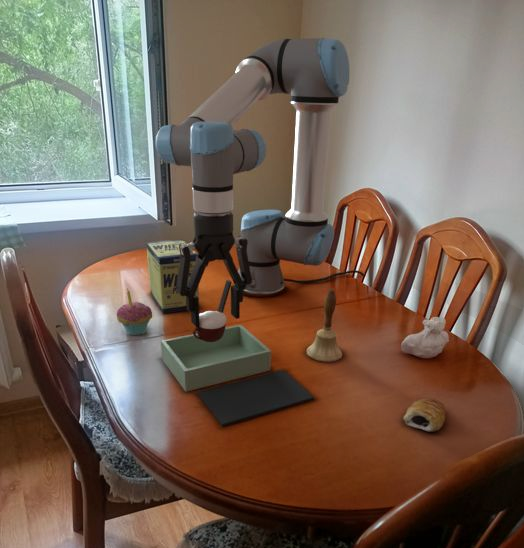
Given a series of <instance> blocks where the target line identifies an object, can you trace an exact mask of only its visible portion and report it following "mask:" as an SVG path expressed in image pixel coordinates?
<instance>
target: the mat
mask: <svg viewBox="0 0 524 548" xmlns="http://www.w3.org/2000/svg"><path fill="white" fill-rule="evenodd" d="M196 394H197V395H198V397H199V398H200V399H201V401H202V402H203V404H204V405H205V407H207V408H208V411H210V413H211V414H212V415H213V417H214V418H215V419H216V420H217V422H218V423H219V424H220V426H221V427H225V426H229V425H232V424H236V423H239V422H242V421H246V420H250V419H252V418H256V417H259V416H264V415H267V414H269V413H274V412H276V411H279V410H283V409H286V408H289V407H293V406H297V405H300V404H304V403H306V402H311V401H313V400H315V397H314V396H313V394H311V393H310V392H309V391H308V390H307V389H306V388H305V387H303V386H302V385H301V384H300V383H299V382H298V381H297V380H296V379H295V378H294V377H292V375H291V374H289V373H288V372H287V371H286V370H284V369H279V370H276V371H272V372H268V373H264V374H261V375H256V376H253V377H249V378H245V379H241V380H237V381H232V382H229V383H226V384H221V385H217V386H213V387H210V388H205V389H202V390H197V393H196Z"/></svg>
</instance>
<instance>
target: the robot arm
mask: <svg viewBox="0 0 524 548" xmlns="http://www.w3.org/2000/svg"><path fill="white" fill-rule="evenodd" d="M349 83H350V61H349V54H348V52H347V49H346V46H345V45H344V43H343V42H342V41H340V40H339V39H335V38H327V37H317V38H316V37H315V38H312V37H311V38H279V39H275V40H273V41H270V42H268V43H265V44H263V45H262V46H260V47H258V48H257V49H255V50H254V51H252V52H251V53H250V54H248V55H247V56H246V57H244V58H243V59H242V60H241V61H240V62H239V63H238V65H237V67H236V70H235V73H234V74H233V75H232V76H231V77H230V78H229V79H228V80H226V81H225V83H223V84H222V85H221V86H220V87H219V88H218V89H217V90H216V91H214V93H212V94H211V95H210V96H209V97H208V98H207V99H206V100H205V101H204V102H203V103H202V104H201V105H199V107H197V108H196V110H194V111H193V112H192V113H191V114H190V115H189V116H188V117H186V119H185V120H184V121H182V122H181V123H180V124H178V125H176V124H173V123H172V124H167V125H163V126H161V127H160V129H158V131H157V133H156V136H155V149H156V151H157V155H158V157H159V158H160V160H161V161H162V162H163V163H166V164H170V165H176V166H177V167H180V166H182V167H191V177H192V183H191V184H192V209H193V210H194V211H195V212H194V213H193V214H192V215H193V233H194V236H193V240H192V242H189V243H186V244H183V243H181V244H180V245H179V250H180V255H181V256H180V263H179V270H178V278H177V285H176V291H177V292H178V293H179V294H180V295H181V296H186V308H187V310H186V311H188V312H189V313H190V322H191V324H192V325H193V326H194V328H196V327H199V314H200V300H199V301H198V296H196V295H195V293H196V290H197V288H198V285H200V282H201V280H202V278H203V275H204V273H205V271H206V268H207V267H209V263H210V262H214V261H222V262H223V264H224V266H225V268H226V270H227V272H228V274H229V276H230V278H231V281H232V283H233V284H234V285H231V286H230V315H231V316H232V317H233V318H235V320H238V319H240V317H241V316H240V315H241V314H240V313H241V310H240V308H241V307H240V306H241V304H240V303H243V302H244V296H246V297H247V296H248V297H253V298H270V297H271V298H272V297H275V296H278V295H281V294H282V293H284V291H285V285H286V284H285V282H290V283H296V284H297V283H298V284H307V283H316V282H321V281H326V280H329V279H331V278H334V277H336V276H342V275H347V274H359V275H361V276H362V277H365V276H366V275H365V273H363V272H362V271H360V270H355V269H354V270H353V269H352V270H346V271H341V272H335V273H333V274H330V275H327V276H325V277H321V278H316V279H315V278H314V279H307V280H305V279H303V280H298V279H293V278H284V275H283V272H282V271H283V270H282V268H281V261H285V262H291V263H295V264H301V265H303V266H314V267H317V266H321V265H322V264H323V263H324V262H325V260H326V259H327V258H328V256H329V254H330V252H331V249H332V246H333V242H334V239H335V228H334V226H333V225H332V224H331V223H329V215H328V214H327V213H326V212H325V211H324V204H325V203H324V201H325V192H326V179H327V168H328V157H329V146H330V145H329V143H330V131H331V120H332V112H333V110H334V109H335V108H336V107H337V106H338V105H339V100H340V97H343V96H344V95H346V93H347V91H348V86H349ZM274 94H285V95H290V104H291V105H292V106H293V108H294V109H295V112H296V113H295V114H296V115H295V133H294V151H293V172H292V189H291V190H292V191H291V208H290V209H289V210H288V211H286V213H285V215H284V214H283V211H281V210H279V209H261V210H260V209H259V210H254V211H249V212H247V213H245V214H243V216H242V218H241V225H240V235H238V236H237V237H235V236H234V214H233V210H234V175H236V174H241V173H244V172H251V171H253V170H254V169H256V168H259V167H260V166H261V165H262V164H263V162H264V161H265V159H266V156H267V144H266V140H265V138H264V137H263V136H262V134H260V133H259V132H258V131H257V130H254V129H248V128H242V129H240V130H239V129H234V128H233V126H234V125H235V124H236V123H237V122H238V121H239V120H240V119H241V118H242V117H243V116H244V115H245V114H246V113H247V112H248V111H249V109H250V108H251V107H253V105H254V104H255V103H256V102H258V101H263V100H265V99H266V98H267V97H269V96H270V95H274ZM233 247H235V250H236V257H237V261H238V266H239V267H238V269H237V266H236V264H235V262H234V259H233V257H232V254H231V253H230V251H231V250H232V248H233ZM194 250H195V251H196V253H197V257H196V263H195V265H194V268H193V270H192V273H191V275H190V278H189V280H188V276H189V269H190V262H191V255H192V254H193V251H194Z"/></svg>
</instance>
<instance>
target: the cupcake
mask: <svg viewBox="0 0 524 548" xmlns="http://www.w3.org/2000/svg"><path fill="white" fill-rule="evenodd" d="M126 290H127V291H126V295H127V299H128V303H126V304H123V305H122V306H120V307H119V308H118V309H117V311H116V320H117V321H118V322H119V323H121V324H122V326H123V327H124V330H125V332H126V333H127V334H128V335H130V336H131V335H132V336H139V335H142V334H144V333H146V331H147V328H148V324H149V322H150V320H151V319H152V318H153V311H152V309H151V307H150V306H149V305H146V304H145V303H141V302H138V301H134V302H133V301H132V296H131V291H130V290H129V288H126Z"/></svg>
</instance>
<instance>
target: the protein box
mask: <svg viewBox="0 0 524 548" xmlns="http://www.w3.org/2000/svg"><path fill="white" fill-rule="evenodd" d="M181 243H183V244H187V243H186V241H184V240H183V239H172V240H171V239H170V240H158V241H147V242H146V244H145V245H146V255H147V256H146V258H147V270H148V280H149V281H148V282H149V293H150V295H151V298H153V301H154V302H155V304H156V305H157V307H158V308H159V310H160V311H161V313H162V314H163V315H164V314H169V313H170V314H171V313H176V312H185V311H188V310H187V308H186V296H181V295H180V294H179V293H178V292H177V291H176V285H177V278H178V270H179V263H180V256H181V255H180V250H179V245H180V244H181ZM197 254H198V252H197V251H194V250H193V254H192V255H191V262H190V269H189V276H188V280H189V278H190V275H191V273H192V270H193V268H194V265H195V263H196V257H197ZM199 285H200V284H199ZM199 285H198V288H197V290H196V293H195V295H196V296H198V301H199V302H200V291H199V289H200V288H199V287H200V286H199Z"/></svg>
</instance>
